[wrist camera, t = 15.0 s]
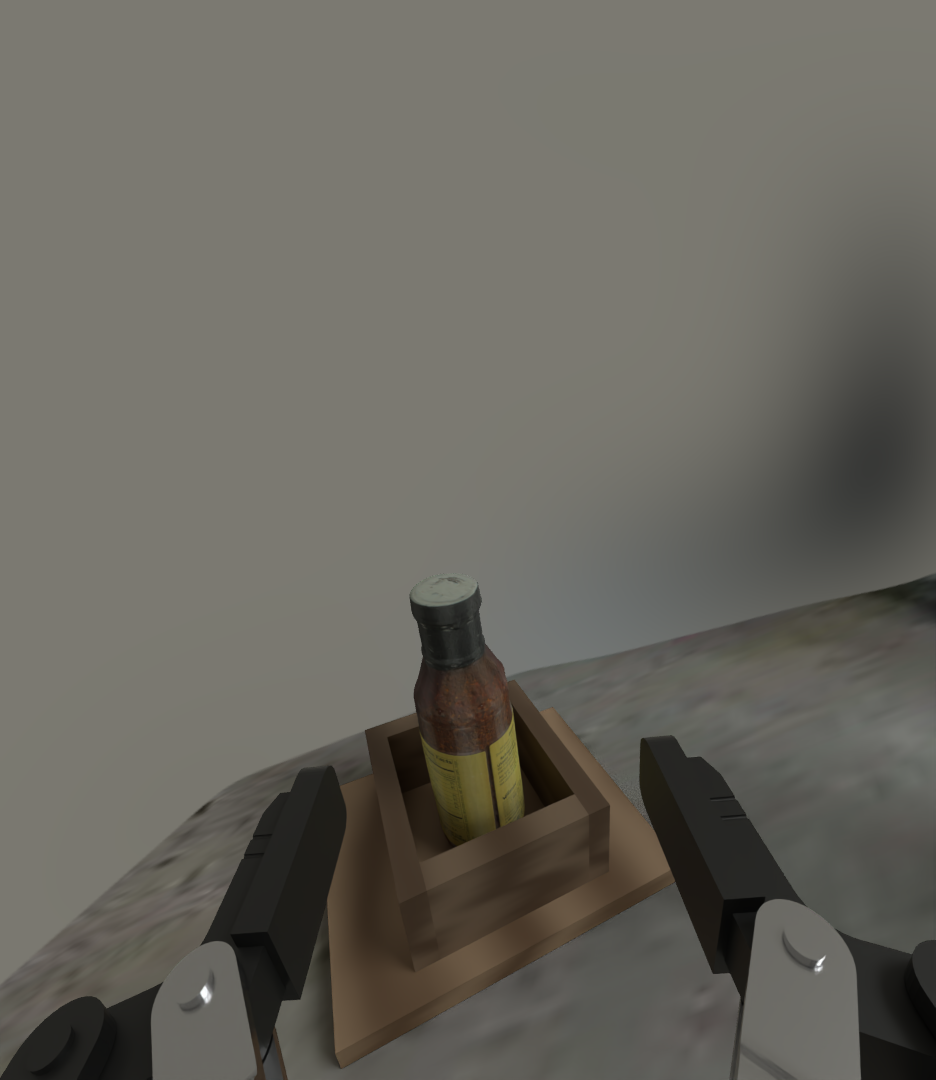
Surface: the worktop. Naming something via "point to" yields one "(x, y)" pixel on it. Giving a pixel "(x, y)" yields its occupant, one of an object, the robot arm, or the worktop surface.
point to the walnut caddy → (472, 878)
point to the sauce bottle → (464, 712)
